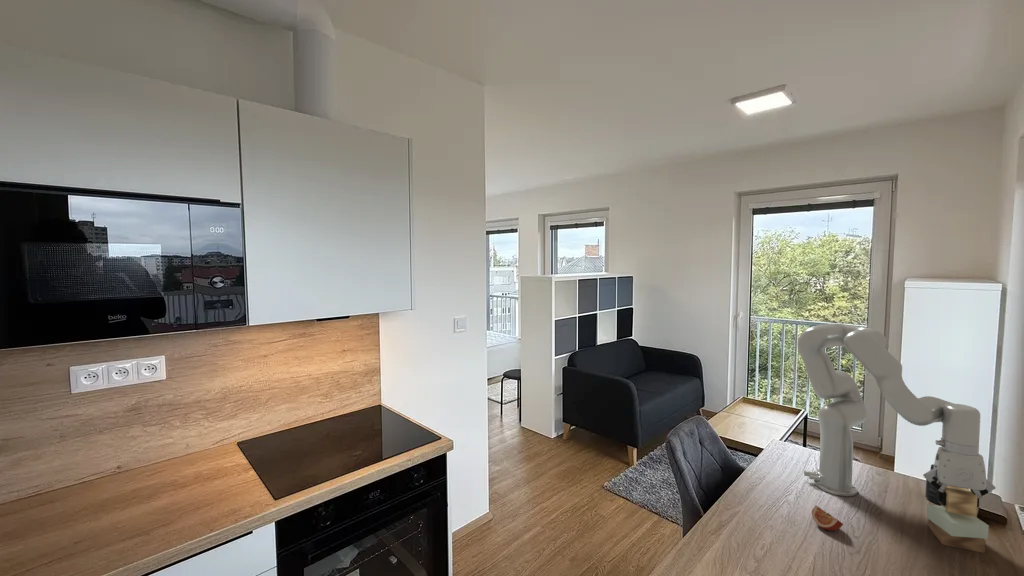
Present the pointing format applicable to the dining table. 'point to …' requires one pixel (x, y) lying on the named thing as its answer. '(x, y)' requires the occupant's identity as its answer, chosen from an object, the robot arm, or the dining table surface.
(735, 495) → the dining table surface
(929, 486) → the supplement bottle
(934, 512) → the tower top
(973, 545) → the block
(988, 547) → the dining table surface
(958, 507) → the oak cube
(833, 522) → the fruit slice
